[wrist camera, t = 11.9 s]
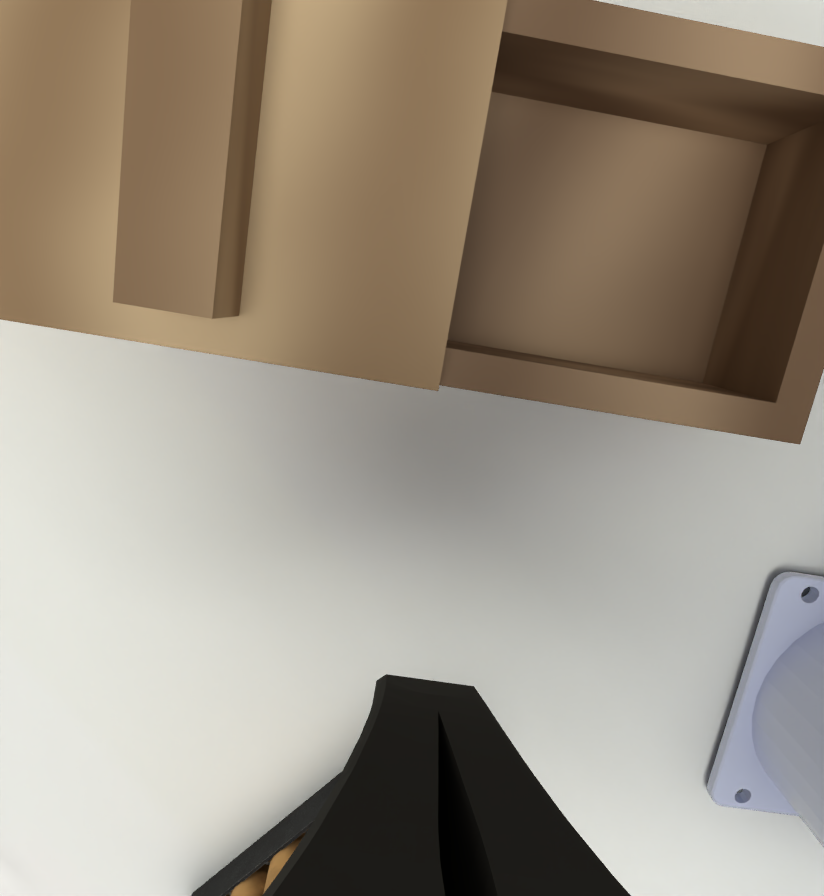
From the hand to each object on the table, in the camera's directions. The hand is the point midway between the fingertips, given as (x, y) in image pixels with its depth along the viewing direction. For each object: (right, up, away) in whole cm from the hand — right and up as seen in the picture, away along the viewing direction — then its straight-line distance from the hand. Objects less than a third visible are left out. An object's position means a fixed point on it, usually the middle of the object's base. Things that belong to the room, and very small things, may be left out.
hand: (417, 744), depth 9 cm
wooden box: (+2, +10, +8) cm, 13 cm away
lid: (-6, +10, +3) cm, 12 cm away
